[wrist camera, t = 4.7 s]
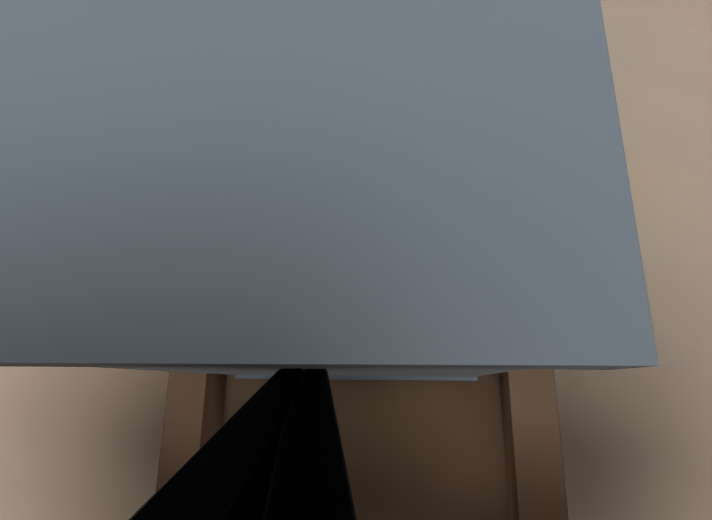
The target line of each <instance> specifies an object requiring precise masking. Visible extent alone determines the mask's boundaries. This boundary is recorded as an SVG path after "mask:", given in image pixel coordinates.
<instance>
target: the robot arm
mask: <svg viewBox="0 0 712 520" xmlns="http://www.w3.org/2000/svg"><path fill="white" fill-rule="evenodd" d="M129 520H357V516H356V511H355V506H354V501H353V496H352V491H351V486H350V481H349V476H348V471H347V466H346V461H345V456H344V451H343V446H342V441H341V435H340V430H339V425H338V420H337V415H336V410H335V405H334V400H333V395H332V390H331V385H330V380H329V375H328V371H327V370H326V369H305V370H304V371H303V370H302V369H279V370H278V371H277V372H276V373H275V374H274V375H273V376H272V377H271V378H270V379H269V380H268V381H267V382H266V383H265V384H264V385H263V386H262V387H261V388H260V389H259V390H258V391H257V392H256V393H255V394H254V395H253V396H252V397H251V398H250V399H249V400H248V401H247V402H246V403H245V404H244V405H243V406H242V407H241V408H240V409H239V410H238V411H237V412H236V413H235V414H234V415H233V416H232V417H231V418H230V419H229V420H228V421H227V422H226V423H225V424H224V425H223V426H222V427H221V428H220V429H219V430H218V431H217V432H216V433H215V434H214V435H213V436H212V437H211V438H210V439H209V440H208V441H207V442H206V443H205V444H204V445H203V446H202V447H201V448H200V449H199V450H198V451H197V452H196V453H195V454H194V455H193V456H192V457H191V458H190V459H189V460H188V461H187V462H186V463H185V464H184V465H183V466H182V467H181V468H180V469H179V470H178V471H177V472H176V473H175V474H174V475H173V476H172V477H171V478H170V479H169V480H168V481H167V482H166V483H165V484H164V485H163V486H162V487H161V488H160V489H159V490H158V491H157V492H156V493H155V494H154V495H153V496H152V497H151V498H150V499H149V500H148V501H147V502H146V503H145V504H144V505H143V506H142V507H141V508H140V509H139V510H138V511H137V512H136V513H135V514H134V515H133V516H132V517H131V518H130V519H129Z"/></svg>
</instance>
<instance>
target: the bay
mask: <svg viewBox="0 0 712 520" xmlns="http://www.w3.org/2000/svg"><path fill="white" fill-rule="evenodd" d="M477 379H478V381H442V380H330V385H331V390H332V395H333V400H334V405H335V410H336V415H337V420H338V425H339V430H340V435H341V441H342V446H343V451H344V456H345V461H346V466H347V471H348V476H349V481H350V486H351V491H352V496H353V501H354V506H355V511H356V516H357V520H569V518H568V508H567V498H566V489H565V479H564V469H563V459H562V449H561V439H560V429H559V419H558V410H557V400H556V390H555V380H554V370H553V369H521V370H515V371H508V372H502V373H495V374H489V375H483V376H477ZM268 380H269V379H238V378H235V375H229V374H211V373H193V372H175V371H170V372H169V381H168V389H167V398H166V407H165V416H164V424H163V433H162V442H161V451H160V459H159V468H158V477H157V486H156V492H157V491H158V490H159V489H160V488H161V487H162V486H163V485H164V484H165V483H166V482H167V481H168V480H169V479H170V478H171V477H172V476H173V475H174V474H175V473H176V472H177V471H178V470H179V469H180V468H181V467H182V466H183V465H184V464H185V463H186V462H187V461H188V460H189V459H190V458H191V457H192V456H193V455H194V454H195V453H196V452H197V451H198V450H199V449H200V448H201V447H202V446H203V445H204V444H205V443H206V442H207V441H208V440H209V439H210V438H211V437H212V436H213V435H214V434H215V433H216V432H217V431H218V430H219V429H220V428H221V427H222V426H223V425H224V424H225V423H226V422H227V421H228V420H229V419H230V418H231V417H232V416H233V415H234V414H235V413H236V412H237V411H238V410H239V409H240V408H241V407H242V406H243V405H244V404H245V403H246V402H247V401H248V400H249V399H250V398H251V397H252V396H253V395H254V394H255V393H256V392H257V391H258V390H259V389H260V388H261V387H262V386H263V385H264V384H265V383H266V382H267V381H268Z"/></svg>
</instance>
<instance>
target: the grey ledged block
mask: <svg viewBox="0 0 712 520" xmlns="http://www.w3.org/2000/svg"><path fill="white" fill-rule="evenodd" d="M0 366H47V367H104V368H122V369H140V370H158V371H175V372H193V373H211V374H229V375H235V378H238V379H270V378H271V377H272V376H273V375H274V374H275V373H276V372H277V371H278V370H279V369H302V370H303V371H304V370H305V369H326V370H327V371H328V375H329V380H442V381H478V379H477V376H483V375H489V374H495V373H502V372H508V371H515V370H521V369H591V370H613V369H625V368H638V367H650V366H659V364H658V358H657V352H656V346H655V340H654V333H653V327H652V321H651V315H650V308H649V302H648V296H647V290H646V283H645V277H644V271H643V265H642V259H641V252H640V246H639V240H638V234H637V227H636V221H635V215H634V209H633V203H632V196H631V190H630V184H629V178H628V171H627V165H626V159H625V153H624V146H623V140H622V134H621V128H620V122H619V115H618V109H617V103H616V97H615V90H614V84H613V78H612V72H611V65H610V59H609V53H608V47H607V41H606V34H605V28H604V22H603V16H602V9H601V3H600V0H0Z"/></svg>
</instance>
